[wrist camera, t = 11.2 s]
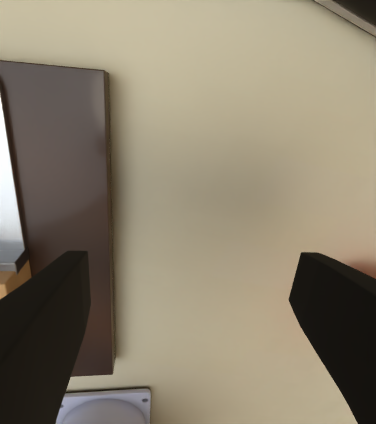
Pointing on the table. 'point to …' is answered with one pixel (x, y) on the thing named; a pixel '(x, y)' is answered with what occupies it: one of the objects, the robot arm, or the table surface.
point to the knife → (10, 215)
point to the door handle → (355, 12)
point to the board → (66, 183)
